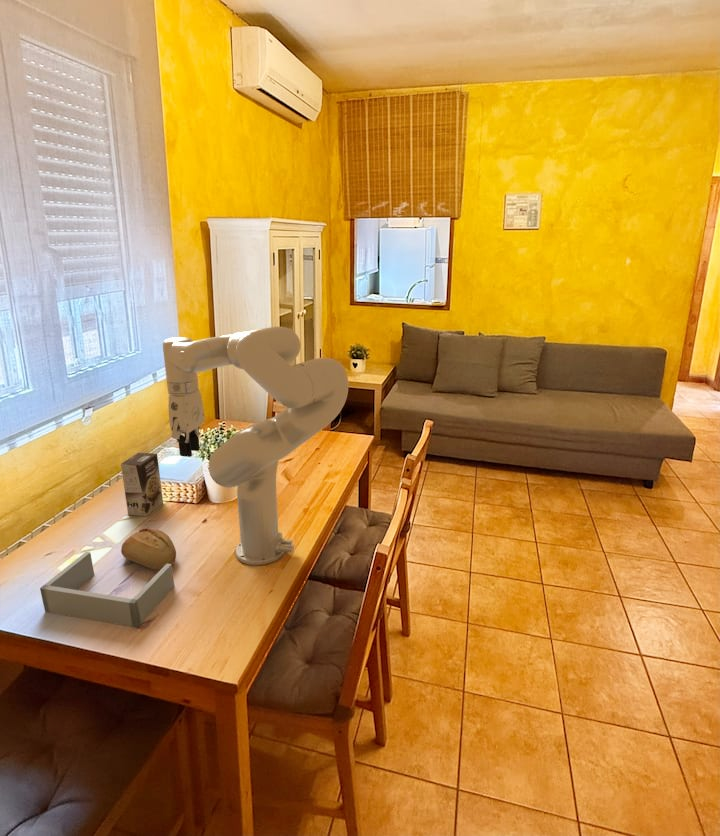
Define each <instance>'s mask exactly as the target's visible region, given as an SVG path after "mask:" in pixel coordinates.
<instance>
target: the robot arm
mask: <svg viewBox="0 0 720 836" xmlns="http://www.w3.org/2000/svg"><path fill="white" fill-rule="evenodd" d="M162 352H163V358H164V359H163V361H164V362H163V363H164V369H165V370H164V371H165V379H166V386H167V387H166V388H167V393H168V420H169V427H170V430H171V431H170V432H171V438H172V439H174V440H176V441H177V442H176V443H178V449H179V456H180V457H188V458H191V457H192V456H193V452H199V451H200V450H201V449H200V440H199V439H200V437H199V435H200V430H199V429H200V427H201V426H202V425H203V424H204V423H205V420H206V418H205V410H204V404H203V398H202V395H201V390H200V388H199V379H198V373H203V372H206V371H210V370H213V369H217V368H218V369H219V368H220V367H222V368H223V367H225V366H232V365H233V366H234V367H235V368H237V369H239V370H244V372H245V373H246V374H247V375H248V376H249V377H250V378H252V379H253V380H254V382H256V383H257V384H258V386H260V387H261V388H262V389H263V390H264V391H266V393H267V394H269V396H271V397H272V398H273V399H274V400H275V401H276V402H277V403H279V404H281V405H282V406H284V407H286V408H285V409H284V410H282V411H281V412H279V413H278V414H276V415H275V416H273V417H270V418H267V419H264V420H262V421H261V420H260V421H259V422H257V423H253V424H252V425H250V426H247V427H244V428H243V429H241V430H239V431H238V432H236V433H235V434H234V435H232V436H231V437H230V438H229V439H227V440H226V441H225V442H223V443H222V444H221V445H220V446H218V447H217V448H216V449H215V450H214V451H213V452H212V454H211V455H210V457H209V461H208V472H209V476H210V478H211V479H212V481H213V482H214V483H215V484H216V485H218V486H221V487H223V488H235V487H237V489H236V490H237V491H236V493H237V495H236V497H237V498H236V499H237V508H238V511H237V512H238V521H239V524H238V525H239V534H240V535H239V537H240V542H238V544H237V545H236V546H235V549H234V550H235V553H234V554H235V557H236V559H237V560H238V561H239V562H241V563H243V564H246V565H249V566H250V565H251V566H261V565H267V564H271V563H273V562H276V561H278V560H279V559H280V558H282V556H283V555H284V554H285V553H292V554H293V553H294V551H295V550H294V549H295V545H294V544H293V540H291V539H285V538H283V532H279V518H278V502H277V501H278V499H277V496H278V494H277V472H278V471H277V470H278V465H279V461H280V460H283V459H284V458H286V457H287V456H289V455H290V454H291V453H293V451H295V450H296V449H298V448H299V447H300V446H302V445H303V444H304V443H307V441H309V440H310V439H312V438H313V437H314V436H315V435H316V434H318V433H319V432H321V431H322V430H323V429H325V428H326V427H327V426H329V425H330V424H331V423H332V422H333V421H334V420H335V419H336V418H337V417H338V415H339V414H340V412H341V411H342V409H343V408H344V406H345V404H346V401H347V398H348V394H349V393H348V392H349V377H348V373H347V371H346V368H345V366H344V365H343V364H342V363H341V362H340V361H338V360H336V359H335V358H330V357H319V358H312V359H310V360H309V359H308V360H306V361H303V362H300V363H296V364H293V365H291V364H290V363H292V362H293V361H294V360H296V359H297V357H298V356H299V354H300V352H301V341H300V338H299V336H298V334H297V333H296V332H295V331H294V330H293V329H291V328H289V327H285V326H270V327H264V328H258V329H256V328H255V329H252V330H251V329H250V330H244V331H238V332H235V333H233V334H226V335H225V334H224V335H220V336H213V337H212V336H211V337H208V338H204V339H203V338H202V339H197V340H193V339H192V338H190V337H187V336H174V337H169V338H166V339H165V340H163V343H162ZM183 434H184V435H183Z"/></svg>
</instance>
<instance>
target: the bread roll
mask: <svg viewBox="0 0 720 836" xmlns="http://www.w3.org/2000/svg"><path fill="white" fill-rule="evenodd" d="M120 552H121V555H122V556H123V557H124V558H125V559H126V560H127V561H128V560H129V561H131V562H134V563H135V564H136V563H137V564H139V565H140V566H141V565H142V566H143V567H147V568H149V569H150V570H151V569H152V570H153V571H158V572H159V571H160V570H161V569H162V568H163V567H164V566H165V565H166V564H172V566H173V565H174V564H175V562H176V559H177V550H176V546H175V544H174V543H173V541H172V539H171V537H170V536H169V535H168V534H167V533H165V532H164V531H162V530H159V529H156V528H151V527H147V528H142V529H140V530H139V531H138V532H137V531H136V532H135V533H133V534H131V535H130V536H129V537H128V538H127V539H125V540H124V542H123V543H122V545H121V549H120Z"/></svg>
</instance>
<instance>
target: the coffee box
mask: <svg viewBox="0 0 720 836" xmlns="http://www.w3.org/2000/svg"><path fill="white" fill-rule="evenodd" d="M159 466H160V465H159V458H158V453H153V452H152V453H151V452H137V453H136V454H134V455H132V456H131V457H129V458H128V459H126V460H125V461H124V462H122V463H121V464H120V468H121V475H122V481H123V488H124V495H125V504H126V510H127V515H131V516H139V517H148V516H149V515H150V514H151V513H153V512H154V511H155V510H156V509H157V508H158V507H160V506H161V505H162V504H163V503H164V499H163V490H162V482H161V474H160V473H161V472H160V467H159Z"/></svg>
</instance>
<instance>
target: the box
mask: <svg viewBox="0 0 720 836" xmlns="http://www.w3.org/2000/svg"><path fill="white" fill-rule="evenodd" d="M94 575H95V570H94V565H93V560H92V554H91V552H89V551H85V552H84V553H83V554H81V555H80V556H79V557H78V558H76V559H75V560H74V561H72V562H71V563H70V564H68V566H66V567H64V568H63V569H62V570H61V571H60V572H58V573H57V574H56V575H54V576H53V577H52V578H51V579H50V580H48V581H47V582H45V584H43V585H42V586H41V587H39V590H40V595H41V600H42V604H43V609H44V612H45V613H50V614H57V615H62V616H68V617H75V618H80V619H85V620H89V621H90V620H92V621H97V622H103V623H108V624H109V623H110V624H114V625H120V626H125V627H126V626H127V627H130V628H132V627H133V628H139V627H140V626H141V624H143V622H145V620H146V619H148V617H149V616H150V614H152V613H153V611H154V610H155V609H156V608H157V606H158V605H159V604H161V602H162V601H163V600H164V599H165V598H166V597H167V596H168V594H170V592H171V591H172V590H173V589H174V587H175V582H174V580H175V579H174V572H173V565H172V564H166V565H165V566H164V567H163V568H162V569H161V570H160V571H159V570H158V571H157V573H156V574H155V575H154V576H153V577H152V578H151V579H150V580H149V581H148V582H147V583H146V584H145V585H144V586H143V587H142V588H141V589H140V590H139V591H138V592H137V593H136V594H135V596H134V597H132V598H129V597H128V598H127V597H124V596H123V597H121V596H116V595H111V594H110V595H109V594H104V593H103V594H102V593H97V592H90V591H84V590H78V589H79V588H80V587H81V586H83V585H84V584H85V583H86V582H87V581H89V579H91V578H92V577H93V576H94Z"/></svg>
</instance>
